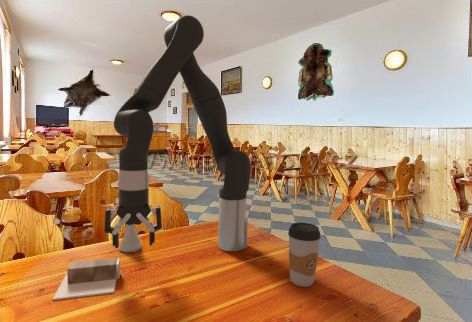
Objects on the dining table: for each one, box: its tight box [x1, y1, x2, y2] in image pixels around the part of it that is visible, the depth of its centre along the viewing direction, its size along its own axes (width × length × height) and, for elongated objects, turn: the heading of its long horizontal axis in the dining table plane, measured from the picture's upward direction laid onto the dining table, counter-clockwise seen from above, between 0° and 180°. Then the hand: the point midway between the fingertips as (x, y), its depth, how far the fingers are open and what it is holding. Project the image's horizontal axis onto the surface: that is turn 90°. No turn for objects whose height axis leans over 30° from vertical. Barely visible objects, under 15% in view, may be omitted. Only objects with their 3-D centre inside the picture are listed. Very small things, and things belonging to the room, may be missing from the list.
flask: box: [118, 224, 143, 253], centre depth 98 cm, size 7×7×10 cm
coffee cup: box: [287, 222, 321, 288], centre depth 79 cm, size 8×8×15 cm
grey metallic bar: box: [66, 257, 121, 284], centre depth 78 cm, size 4×4×12 cm
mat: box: [52, 273, 118, 301], centre depth 77 cm, size 13×16×1 cm
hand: (134, 245), depth 80 cm, fingers open, 8 cm apart
